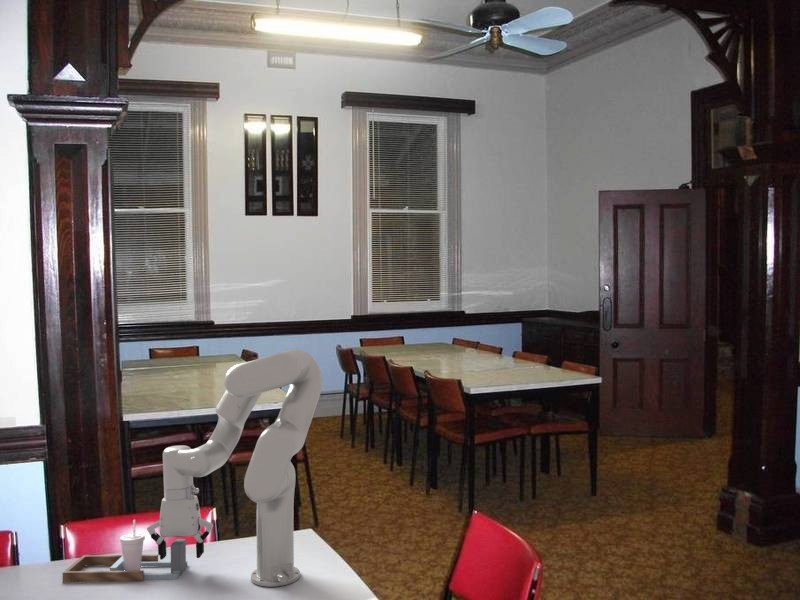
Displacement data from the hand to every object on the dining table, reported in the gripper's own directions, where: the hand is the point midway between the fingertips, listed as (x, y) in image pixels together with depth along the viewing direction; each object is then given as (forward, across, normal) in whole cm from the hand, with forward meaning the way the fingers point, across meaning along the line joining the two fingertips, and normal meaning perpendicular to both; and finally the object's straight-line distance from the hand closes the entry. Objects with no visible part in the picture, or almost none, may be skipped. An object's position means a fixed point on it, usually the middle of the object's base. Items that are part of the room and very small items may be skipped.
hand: (181, 556), depth 193 cm
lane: (+3, +19, 0) cm, 19 cm away
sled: (+4, +9, 0) cm, 9 cm away
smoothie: (+4, +13, 0) cm, 14 cm away
